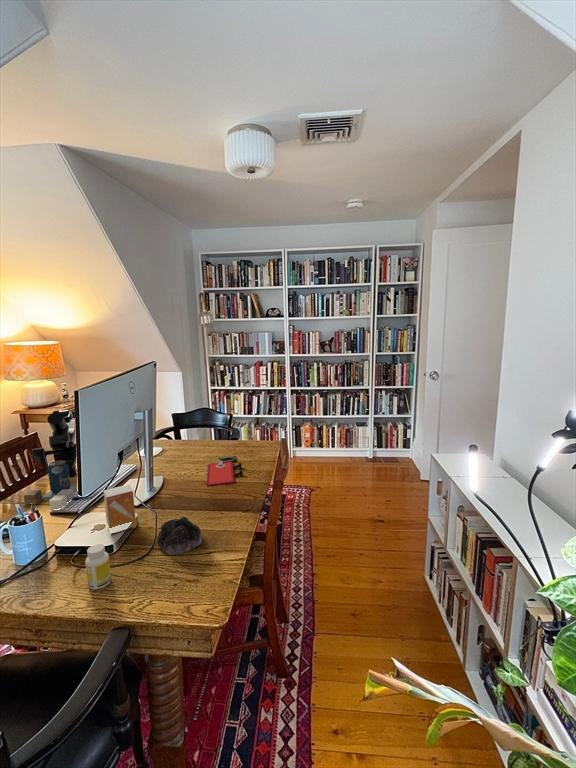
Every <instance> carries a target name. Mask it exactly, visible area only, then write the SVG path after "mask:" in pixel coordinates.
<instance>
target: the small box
mask: <svg viewBox="0 0 576 768" xmlns="http://www.w3.org/2000/svg"><path fill="white" fill-rule="evenodd" d="M134 497H135V495H134V490H133V489H132V486H131V485H130V484H126V485H121V486H120V485H119V486H116V487H113V488H108V489H105V490H103V499H104V508H105V517H106V524H107V523H108V526H109V528H112V527H115V526H118V525H122V524H125V523H129V522H132V523H133V525H134V528H133V529H135V528H137V521H136V509H135V499H134Z"/></svg>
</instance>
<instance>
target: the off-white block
mask: <svg viewBox="0 0 576 768" xmlns="http://www.w3.org/2000/svg"><path fill="white" fill-rule="evenodd" d="M48 502H49V507H50V508H49V509H50V511H51V510H54V509H58V508H62V507H63V506H65V505H66V504H67V496H66V495H56V496H54V497H53V498H52V499H48ZM54 511H55V510H54Z"/></svg>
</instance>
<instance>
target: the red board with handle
mask: <svg viewBox="0 0 576 768" xmlns="http://www.w3.org/2000/svg"><path fill="white" fill-rule="evenodd" d="M234 462H237V456H236V455H234V456H226V457H225V456H223V457H218V462H216V463H208V464H207V477H206V487H212V486H222V485H223V486H224V485H231V484H235V481H236V480H235V478H236V477H239V476H240V477H241V478H242V477H244V475H243V469H242V462H238V464H237V465H234V464H233V463H234ZM235 469H239V472H237V473H234V472H235V471H234V470H235Z"/></svg>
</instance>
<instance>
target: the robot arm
mask: <svg viewBox="0 0 576 768" xmlns="http://www.w3.org/2000/svg"><path fill="white" fill-rule="evenodd" d="M74 410H75V409H64V410H53V411H52V412H51V414H49V415H48V416H47V419H46V421H47V423H48V424H49V426H50V429H51V430H52V436H49V437H48V443H49V448H50V449H47V450H46V449H45V447H38V448H33V449H32V450H31V456H32V458H33V459H34V461H37V462H39V463H40V462H41V464H42V467H43V470H44V473H47V474H48V459H47V456H50V455H53V461H57V460H65V461H66V463H67V464H68V469H69V477H70V479H71V478H75V476H76V471H77V469H76V464H77V462H76V443H77V442H76V443H75V441H76V440H75V439H76V436H75V417H74Z"/></svg>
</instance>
